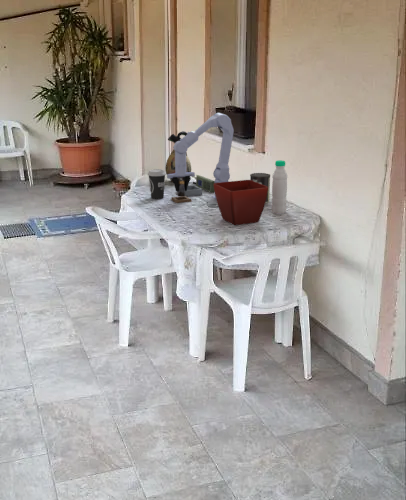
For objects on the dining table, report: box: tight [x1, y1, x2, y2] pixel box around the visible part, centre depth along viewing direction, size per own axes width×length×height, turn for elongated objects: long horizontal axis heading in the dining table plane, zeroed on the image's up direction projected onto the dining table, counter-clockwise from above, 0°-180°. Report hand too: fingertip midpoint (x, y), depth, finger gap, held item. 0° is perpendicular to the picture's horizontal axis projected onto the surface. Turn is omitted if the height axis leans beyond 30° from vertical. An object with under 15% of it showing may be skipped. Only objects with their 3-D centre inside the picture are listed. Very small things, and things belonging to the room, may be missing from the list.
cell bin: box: [185, 184, 203, 197], centre depth 342 cm, size 12×10×4 cm
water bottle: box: [271, 160, 288, 215], centre depth 300 cm, size 7×7×25 cm
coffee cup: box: [147, 168, 167, 200], centre depth 331 cm, size 10×10×15 cm
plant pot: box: [214, 179, 268, 226], centre depth 286 cm, size 19×19×17 cm
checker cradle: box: [170, 196, 193, 204], centre depth 327 cm, size 9×9×2 cm
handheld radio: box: [192, 174, 215, 194], centre depth 356 cm, size 7×3×25 cm
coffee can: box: [249, 172, 271, 204], centre depth 323 cm, size 10×10×14 cm
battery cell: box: [177, 179, 185, 197], centre depth 325 cm, size 4×4×9 cm
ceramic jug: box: [164, 130, 195, 184], centre depth 371 cm, size 17×15×30 cm
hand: (181, 191), depth 325 cm, fingers closed on battery cell, 4 cm apart
